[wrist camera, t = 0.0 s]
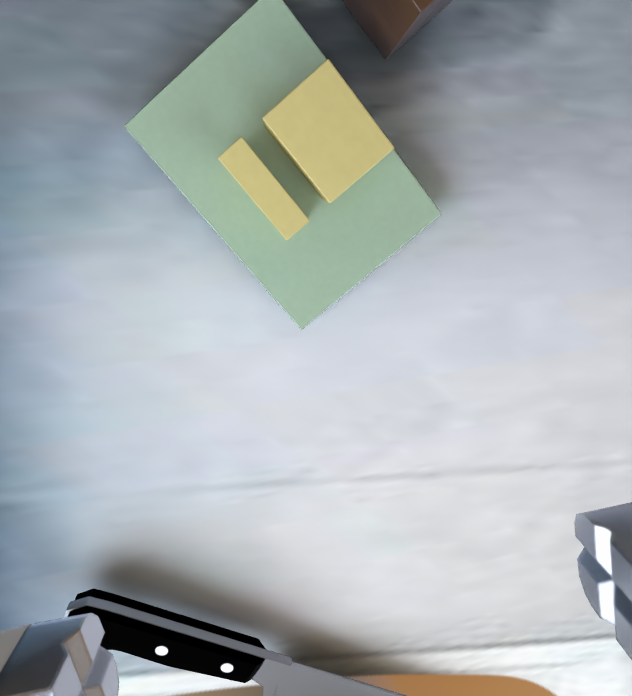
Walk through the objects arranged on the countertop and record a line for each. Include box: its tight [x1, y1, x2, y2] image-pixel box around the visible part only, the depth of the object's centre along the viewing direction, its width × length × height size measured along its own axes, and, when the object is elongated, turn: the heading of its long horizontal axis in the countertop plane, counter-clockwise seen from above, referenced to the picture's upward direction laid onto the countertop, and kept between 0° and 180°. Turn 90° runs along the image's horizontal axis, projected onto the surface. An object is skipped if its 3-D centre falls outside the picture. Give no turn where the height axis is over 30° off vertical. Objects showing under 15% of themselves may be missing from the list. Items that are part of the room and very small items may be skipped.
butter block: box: [262, 59, 394, 203], centre depth 28 cm, size 5×4×3 cm
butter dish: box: [124, 0, 441, 330], centre depth 30 cm, size 14×10×1 cm
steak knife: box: [63, 589, 406, 696], centre depth 39 cm, size 5×41×2 cm, turn 65°
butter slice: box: [218, 137, 310, 240], centre depth 29 cm, size 5×2×3 cm, turn 40°
